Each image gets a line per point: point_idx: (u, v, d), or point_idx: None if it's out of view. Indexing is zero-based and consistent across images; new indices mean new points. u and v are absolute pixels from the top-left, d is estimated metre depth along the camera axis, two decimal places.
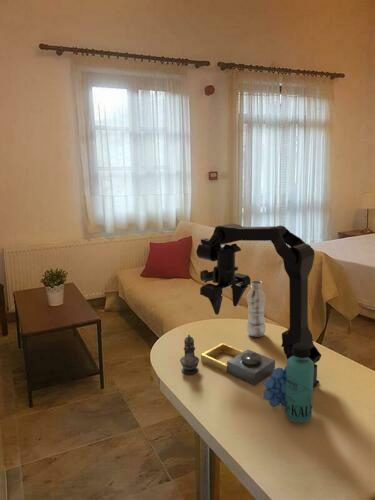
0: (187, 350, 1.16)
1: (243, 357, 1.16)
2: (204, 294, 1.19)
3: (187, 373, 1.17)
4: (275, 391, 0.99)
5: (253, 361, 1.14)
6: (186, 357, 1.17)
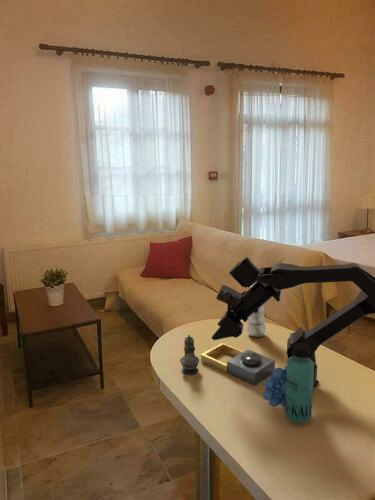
0: (187, 350, 1.16)
1: (243, 357, 1.16)
2: (227, 327, 1.03)
3: (187, 373, 1.17)
4: (275, 391, 0.99)
5: (253, 361, 1.14)
6: (186, 357, 1.17)
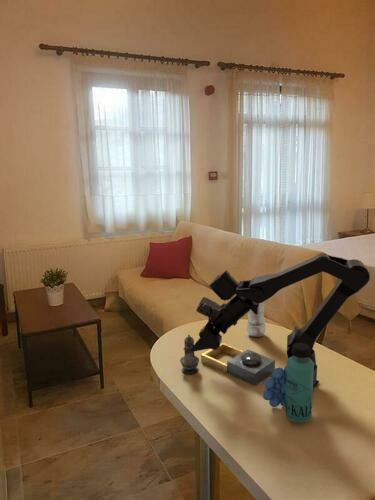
0: (187, 350, 1.16)
1: (243, 357, 1.16)
2: (205, 339, 1.05)
3: (187, 374, 1.17)
4: (275, 391, 0.99)
5: (253, 361, 1.14)
6: (186, 357, 1.17)
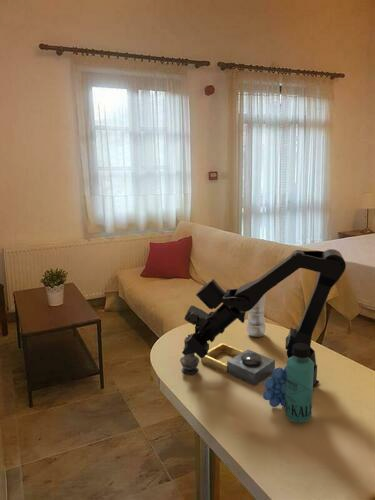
0: None
1: (243, 357, 1.16)
2: (192, 348, 1.07)
3: (187, 373, 1.17)
4: (275, 391, 0.99)
5: (253, 361, 1.14)
6: (186, 357, 1.17)
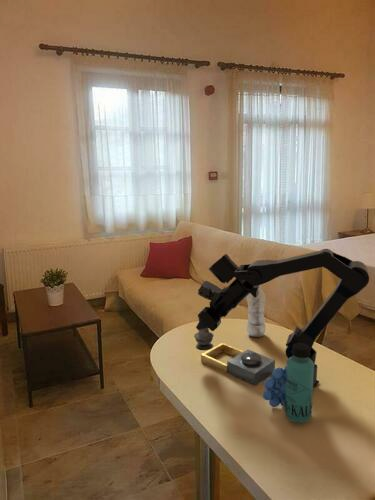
0: None
1: (243, 357, 1.16)
2: (203, 321, 1.08)
3: (200, 349, 1.18)
4: (275, 391, 0.99)
5: (253, 361, 1.14)
6: (200, 332, 1.18)
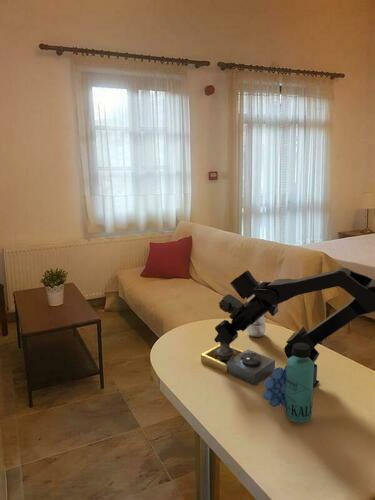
0: None
1: (243, 357, 1.16)
2: (220, 333, 1.12)
3: None
4: (275, 391, 0.99)
5: (253, 361, 1.14)
6: (220, 347, 1.22)
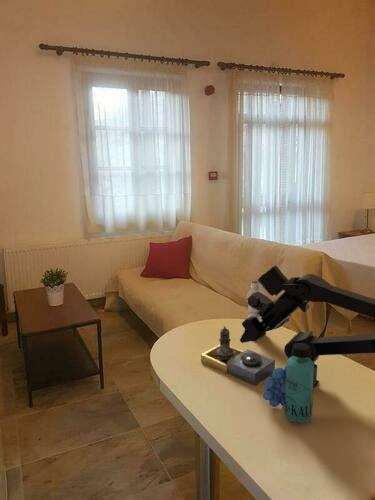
0: (222, 341, 1.21)
1: (243, 357, 1.16)
2: (246, 329, 1.07)
3: None
4: (275, 391, 0.99)
5: (253, 361, 1.14)
6: (220, 347, 1.22)
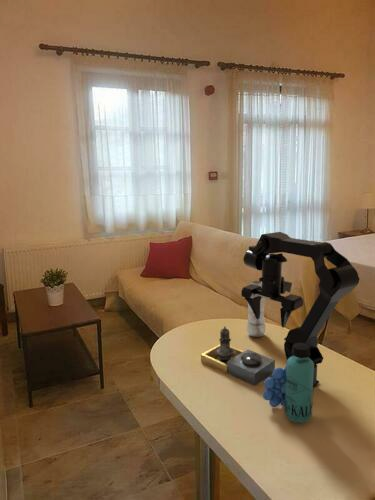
0: (222, 341, 1.21)
1: (243, 357, 1.16)
2: None
3: None
4: (275, 391, 0.99)
5: (253, 361, 1.14)
6: (220, 347, 1.22)
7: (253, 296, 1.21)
